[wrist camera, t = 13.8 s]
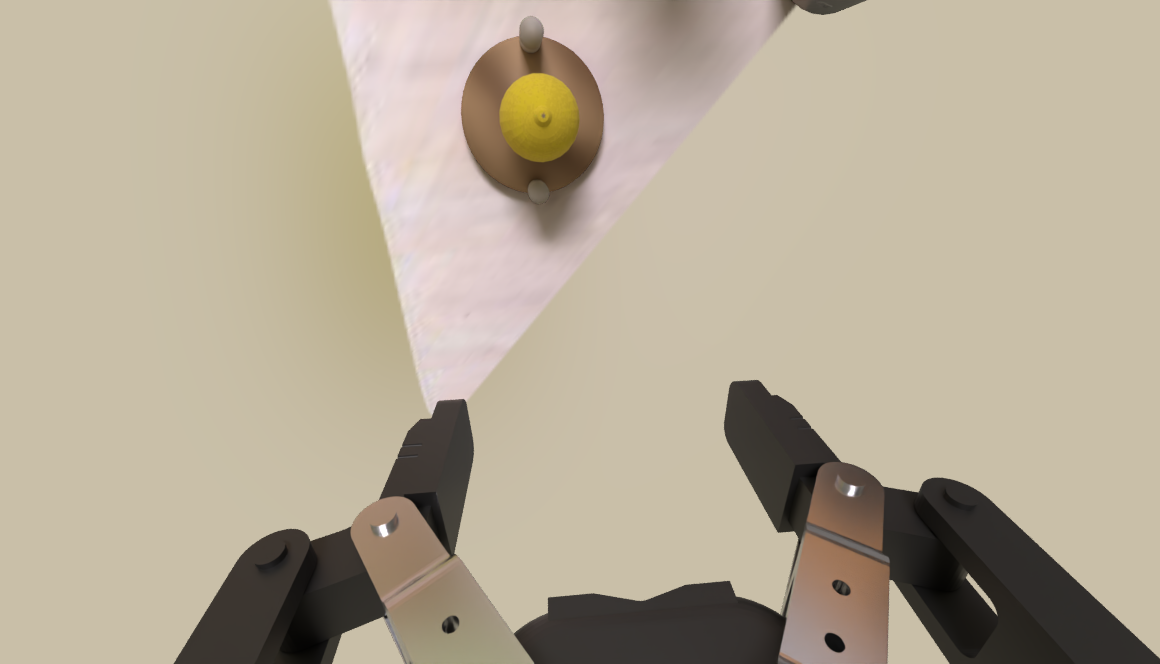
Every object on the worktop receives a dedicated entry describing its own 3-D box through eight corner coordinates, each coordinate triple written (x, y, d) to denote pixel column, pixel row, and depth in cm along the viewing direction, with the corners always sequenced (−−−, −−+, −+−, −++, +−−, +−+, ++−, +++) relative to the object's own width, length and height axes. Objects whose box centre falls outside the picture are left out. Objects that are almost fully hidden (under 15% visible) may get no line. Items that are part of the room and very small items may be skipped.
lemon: (568, 163, 36) (582, 168, 28) (499, 156, 35) (495, 159, 27) (575, 86, 33) (592, 70, 26) (502, 76, 33) (498, 57, 25)
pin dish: (509, 2, 32) (508, -16, 28) (627, 101, 35) (641, 95, 32) (437, 139, 34) (427, 139, 31) (553, 217, 38) (557, 225, 34)
